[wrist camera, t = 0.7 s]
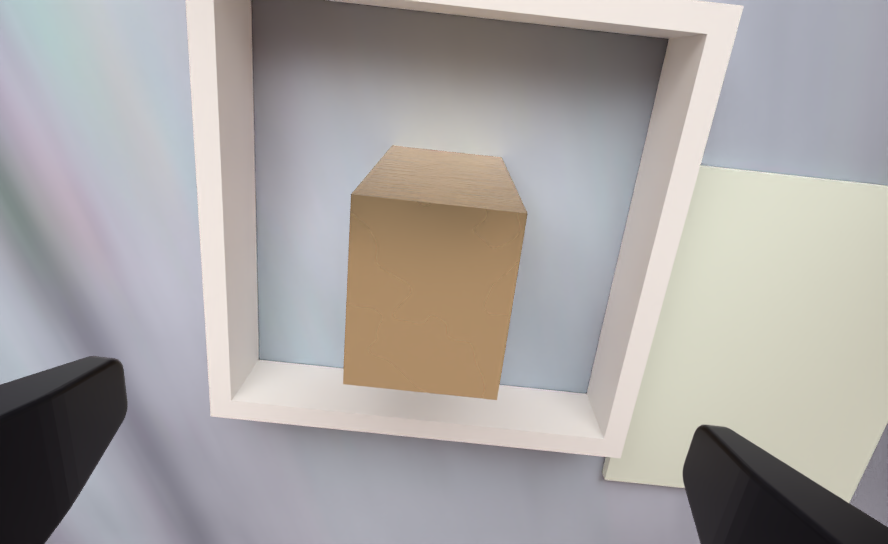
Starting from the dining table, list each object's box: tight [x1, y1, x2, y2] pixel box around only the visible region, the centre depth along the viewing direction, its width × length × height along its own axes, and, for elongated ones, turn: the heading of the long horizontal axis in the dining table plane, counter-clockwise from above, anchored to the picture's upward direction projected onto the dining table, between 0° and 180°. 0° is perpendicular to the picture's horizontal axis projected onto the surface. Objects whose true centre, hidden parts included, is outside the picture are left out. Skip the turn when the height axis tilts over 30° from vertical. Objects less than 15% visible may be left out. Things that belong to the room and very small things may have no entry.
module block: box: [343, 146, 527, 400], centre depth 17 cm, size 4×5×8 cm
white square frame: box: [186, 0, 744, 458], centre depth 19 cm, size 16×16×3 cm
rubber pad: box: [602, 165, 888, 503], centre depth 22 cm, size 11×14×1 cm
